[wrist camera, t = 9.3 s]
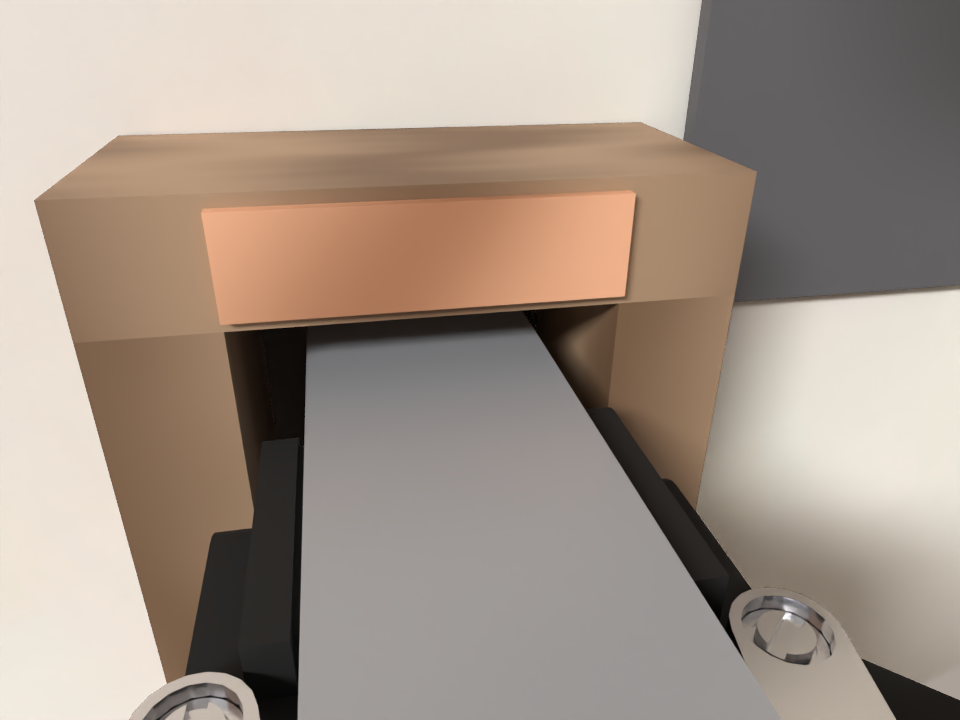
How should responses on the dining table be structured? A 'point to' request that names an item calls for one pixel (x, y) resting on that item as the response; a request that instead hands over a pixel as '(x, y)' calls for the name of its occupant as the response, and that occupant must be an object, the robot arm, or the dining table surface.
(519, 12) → the dining table surface
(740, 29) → the mat
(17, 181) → the dining table surface
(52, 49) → the dining table surface
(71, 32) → the dining table surface
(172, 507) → the socket block
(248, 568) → the robot arm
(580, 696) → the plug
